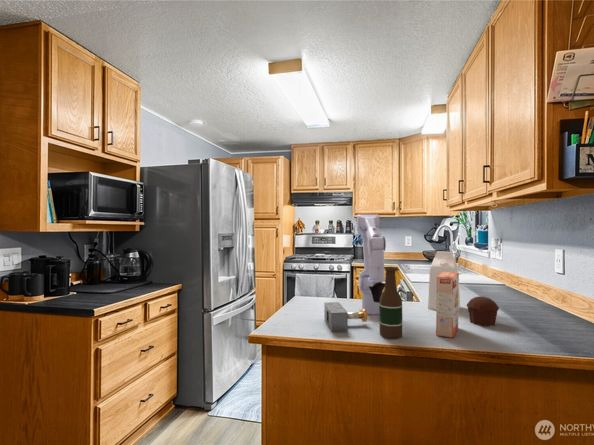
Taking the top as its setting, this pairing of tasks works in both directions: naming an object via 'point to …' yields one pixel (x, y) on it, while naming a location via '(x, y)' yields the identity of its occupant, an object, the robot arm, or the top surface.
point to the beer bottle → (390, 308)
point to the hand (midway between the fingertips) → (376, 302)
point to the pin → (358, 315)
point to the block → (336, 317)
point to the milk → (438, 266)
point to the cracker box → (447, 304)
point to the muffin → (482, 311)
